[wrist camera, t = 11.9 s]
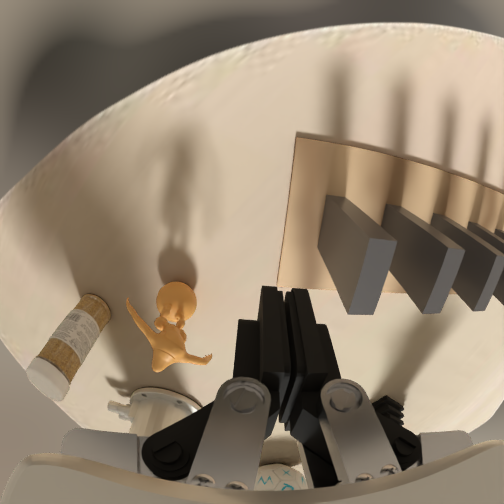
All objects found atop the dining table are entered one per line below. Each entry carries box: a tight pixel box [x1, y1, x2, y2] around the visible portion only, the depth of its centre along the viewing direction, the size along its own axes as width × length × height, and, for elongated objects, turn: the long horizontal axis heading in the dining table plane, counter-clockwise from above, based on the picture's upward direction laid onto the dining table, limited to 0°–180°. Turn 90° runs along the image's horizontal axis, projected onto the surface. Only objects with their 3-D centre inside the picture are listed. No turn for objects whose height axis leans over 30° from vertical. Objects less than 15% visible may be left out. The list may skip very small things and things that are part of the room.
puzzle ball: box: [254, 464, 308, 491], centre depth 42 cm, size 15×15×15 cm
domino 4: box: [467, 221, 504, 305], centre depth 19 cm, size 2×5×10 cm, turn 175°
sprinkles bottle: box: [26, 294, 111, 401], centre depth 23 cm, size 5×5×14 cm
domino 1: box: [317, 195, 397, 315], centre depth 19 cm, size 2×5×10 cm, turn 175°
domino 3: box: [430, 213, 504, 311], centre depth 19 cm, size 2×5×10 cm, turn 175°
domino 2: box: [381, 204, 465, 314], centre depth 19 cm, size 2×5×10 cm, turn 175°
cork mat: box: [277, 137, 504, 294], centre depth 24 cm, size 32×14×1 cm, turn 85°
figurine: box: [126, 282, 212, 372], centre depth 22 cm, size 8×6×12 cm
